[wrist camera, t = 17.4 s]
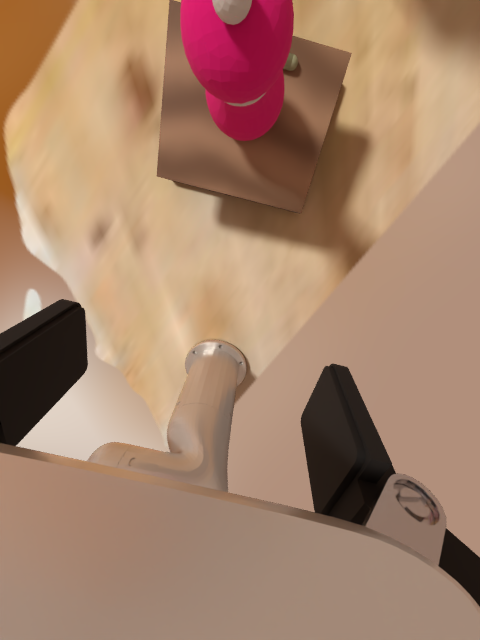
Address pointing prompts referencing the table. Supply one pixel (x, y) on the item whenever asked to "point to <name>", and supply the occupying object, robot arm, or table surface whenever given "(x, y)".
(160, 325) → the table surface
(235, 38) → the pepper mill
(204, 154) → the board
